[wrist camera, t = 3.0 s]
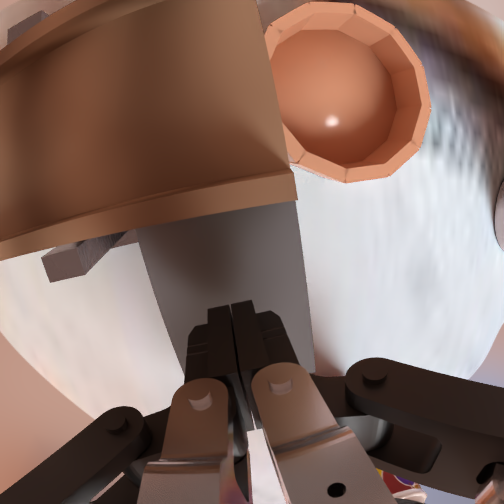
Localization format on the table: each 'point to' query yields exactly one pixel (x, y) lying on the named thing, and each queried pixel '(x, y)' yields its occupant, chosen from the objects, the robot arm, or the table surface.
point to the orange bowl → (346, 91)
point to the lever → (157, 154)
